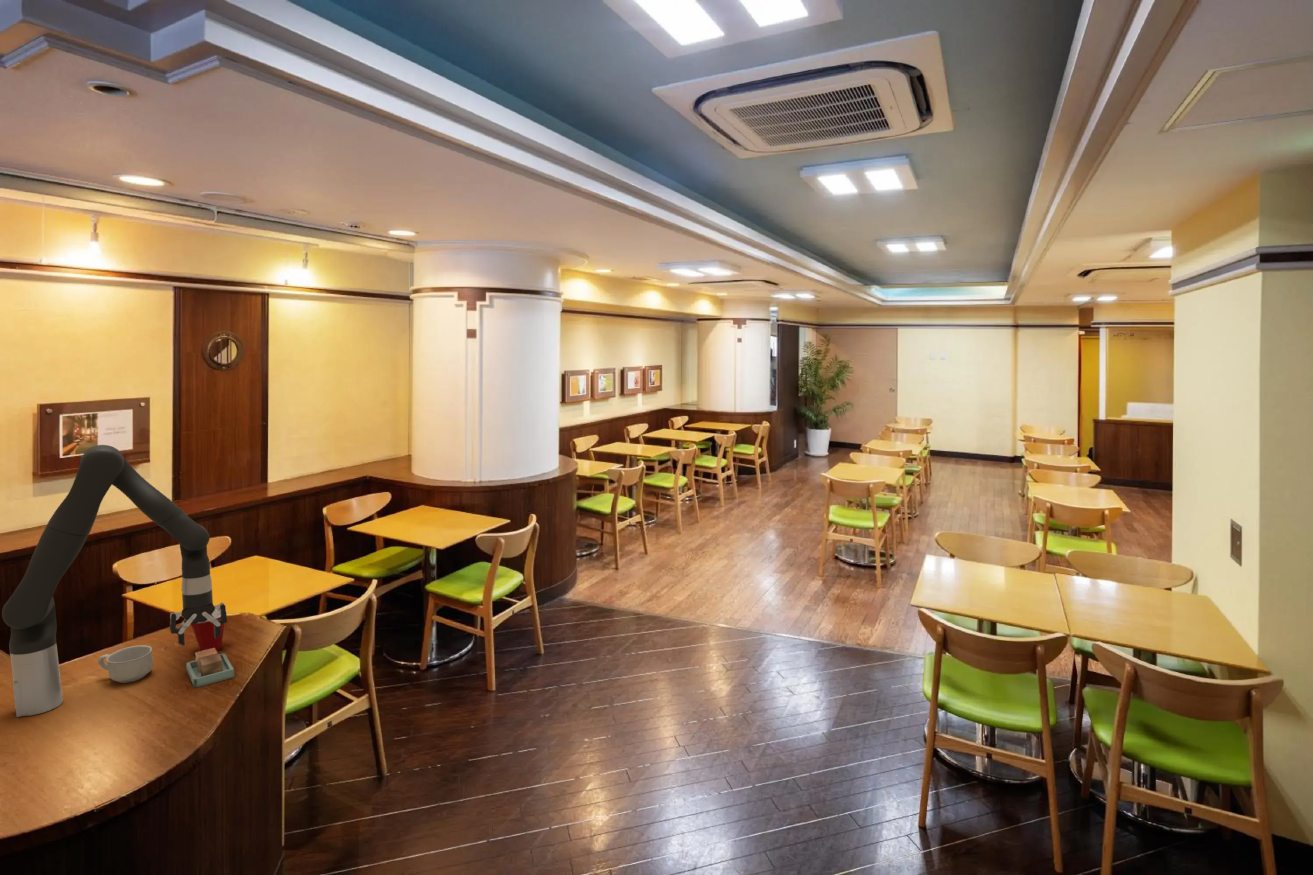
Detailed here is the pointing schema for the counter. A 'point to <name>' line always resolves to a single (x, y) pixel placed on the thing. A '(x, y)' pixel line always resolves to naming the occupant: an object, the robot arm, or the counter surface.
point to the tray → (212, 678)
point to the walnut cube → (211, 665)
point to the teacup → (128, 663)
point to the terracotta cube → (204, 656)
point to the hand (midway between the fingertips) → (199, 641)
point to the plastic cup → (208, 633)
